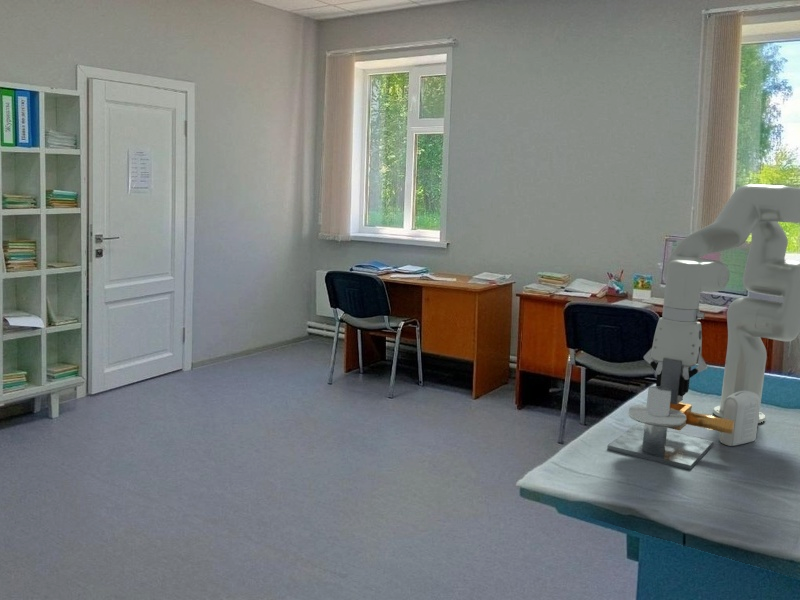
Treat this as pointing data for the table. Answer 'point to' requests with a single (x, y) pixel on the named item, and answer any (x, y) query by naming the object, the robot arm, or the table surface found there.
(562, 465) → the table surface
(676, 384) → the grey rectangular block
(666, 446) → the ringlock standard
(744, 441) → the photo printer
